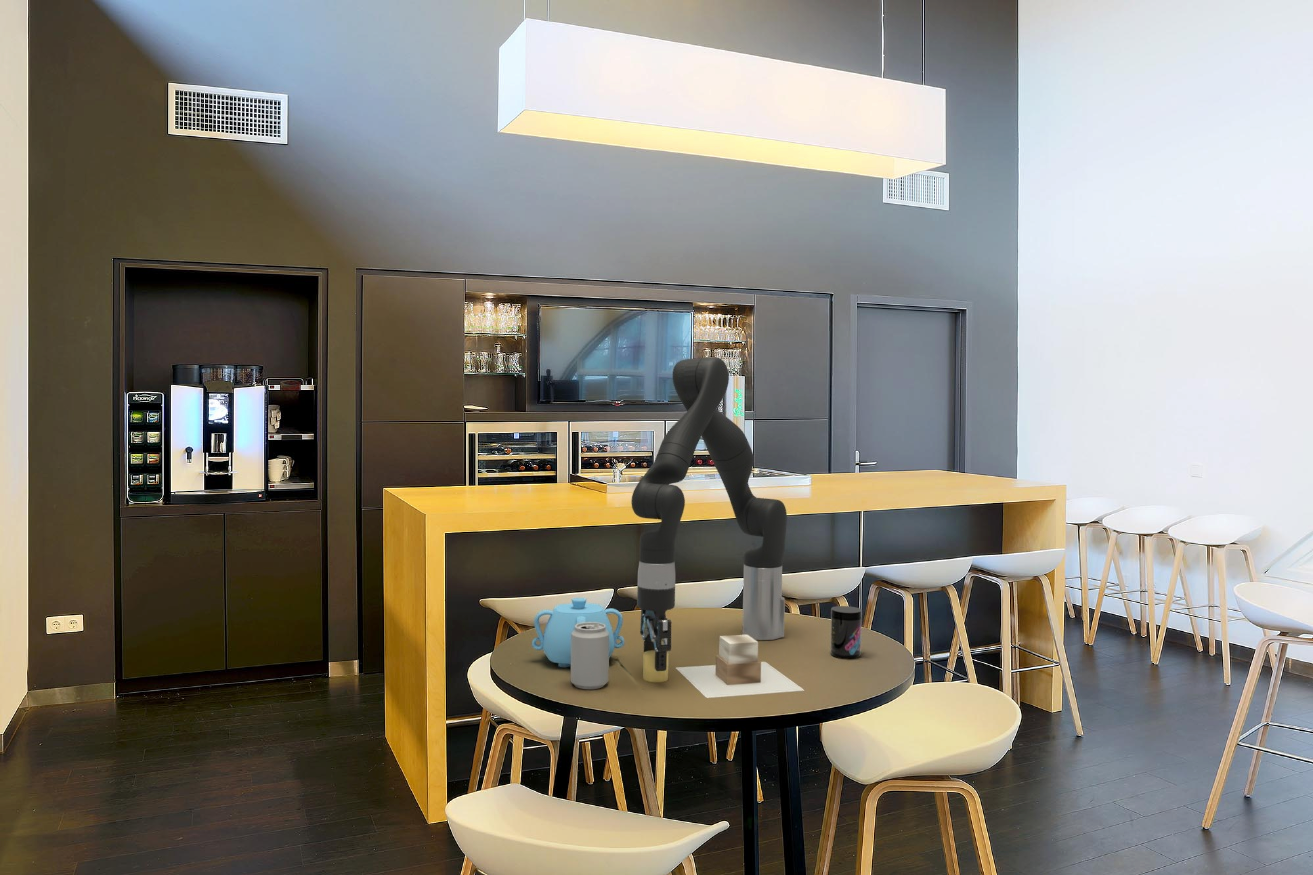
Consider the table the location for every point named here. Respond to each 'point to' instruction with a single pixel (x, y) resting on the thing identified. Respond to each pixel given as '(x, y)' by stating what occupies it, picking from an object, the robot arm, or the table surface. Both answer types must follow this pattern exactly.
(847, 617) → the supplement container
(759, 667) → the bottom block
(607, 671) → the can
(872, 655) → the table surface
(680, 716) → the table surface
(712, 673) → the board
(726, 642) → the top block
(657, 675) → the cylinder
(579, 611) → the decorative pot
